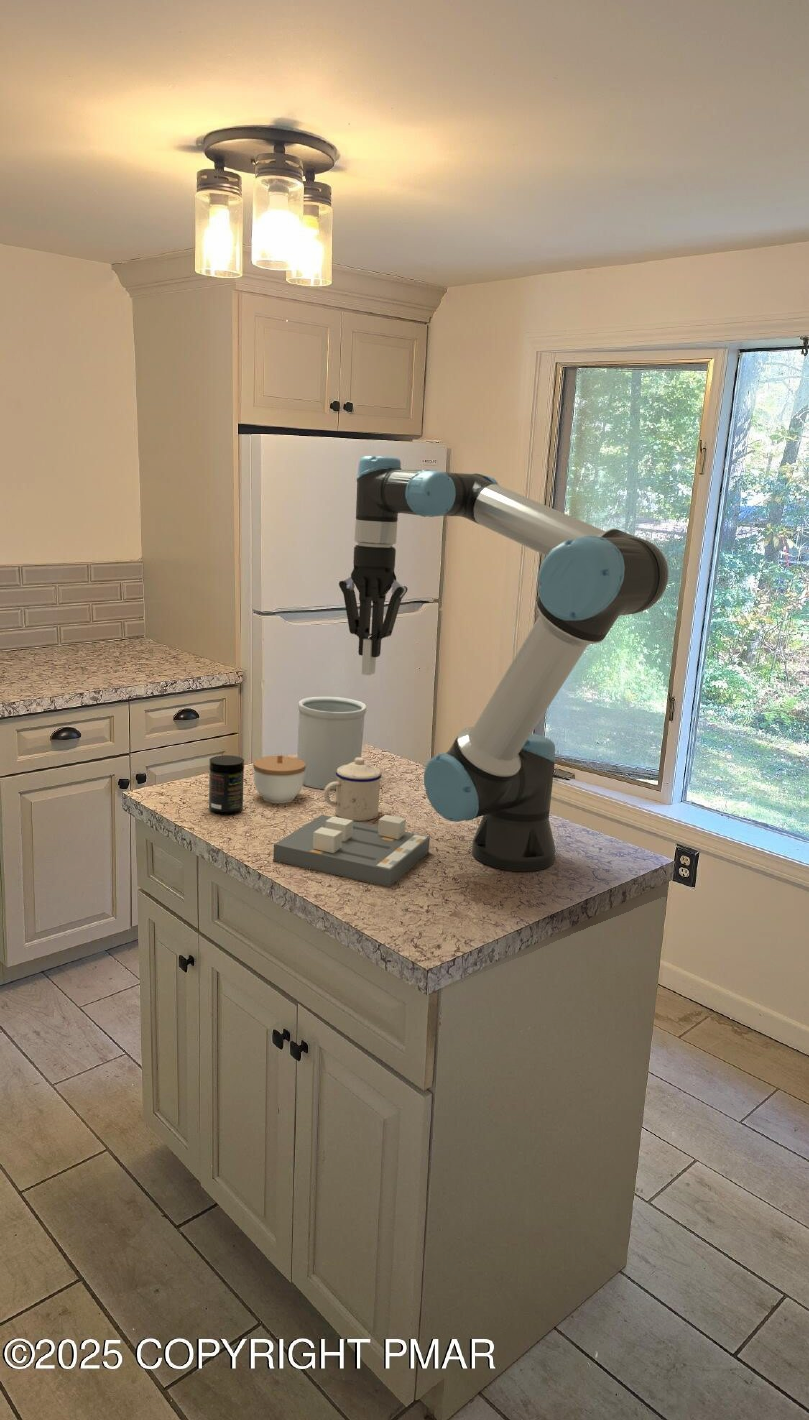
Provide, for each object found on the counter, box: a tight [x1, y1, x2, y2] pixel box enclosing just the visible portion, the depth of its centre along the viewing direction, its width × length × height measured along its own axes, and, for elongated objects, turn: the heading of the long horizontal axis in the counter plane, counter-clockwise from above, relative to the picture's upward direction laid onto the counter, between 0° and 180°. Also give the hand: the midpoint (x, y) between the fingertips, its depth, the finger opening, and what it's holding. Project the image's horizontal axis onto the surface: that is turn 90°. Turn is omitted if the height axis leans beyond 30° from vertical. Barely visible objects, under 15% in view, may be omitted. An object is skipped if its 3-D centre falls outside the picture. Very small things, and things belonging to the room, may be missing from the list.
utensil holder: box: [296, 696, 367, 791], centre depth 214 cm, size 15×15×18 cm
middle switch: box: [325, 816, 353, 841], centre depth 174 cm, size 4×3×3 cm
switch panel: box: [272, 814, 431, 888], centre depth 173 cm, size 22×18×3 cm
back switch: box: [378, 814, 407, 839], centre depth 176 cm, size 4×3×3 cm
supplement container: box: [208, 754, 245, 816], centre depth 192 cm, size 7×7×10 cm
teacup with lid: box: [323, 756, 382, 822], centre depth 193 cm, size 12×9×12 cm
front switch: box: [313, 827, 342, 853], centre depth 168 cm, size 4×3×3 cm
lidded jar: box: [252, 754, 306, 805], centre depth 201 cm, size 11×11×9 cm
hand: (368, 673), depth 181 cm, fingers closed
